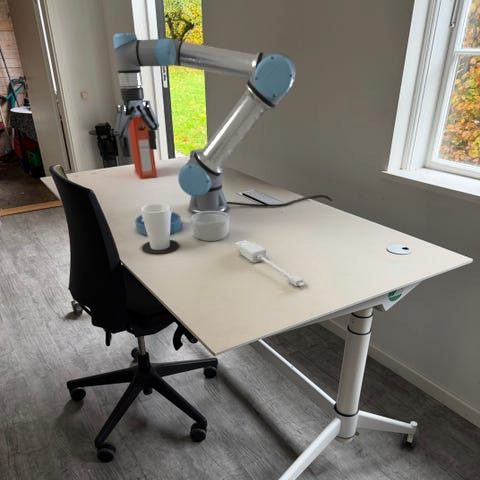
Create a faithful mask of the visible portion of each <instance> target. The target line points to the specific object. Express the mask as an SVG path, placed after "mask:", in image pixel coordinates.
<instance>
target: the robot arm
mask: <svg viewBox="0 0 480 480" xmlns="http://www.w3.org/2000/svg"><path fill="white" fill-rule="evenodd" d="M112 40H113V51H114V56H115V63H116V68H117V76H118V82H119V87H120V97H121V98H120V99H121V100H122V101H123V104H116V116H115V121H114V127H113V134H112V135H113V136H114V137H117V138H118V141H119V146H120V148H121V152H122V157H124V158H131V154H130V153H131V152H130V147H129V141H128V136H126V135H127V132H128V130H129V125H130V122H131V120H132V119H133V118H135V117H141V119H142V120H143V121H144V123H145V124H146V125H147V126H148V128H149V129H150V130H148V137H149V144H150V149H153V150H154V151H156V150H158V147H157V133H156V132H157V131H158V129H159V128H160V123H159V121H158V119H157V117H156V115H155V112H154V110H153V108H152V104H151V101H150V100H147V99H146V100H144V99H145V93H144V88H143V87H142V86H143V79H142V70H141V67H142V68H143V67H164V68H165V67H169V66H170V67H171V66H178V67H184V68H188V69H195V70H199V71H205V72H209V73H214V74H220V75H225V76H230V77H234V78H235V77H236V78H240V79H245V80H247V81H246V83H245V88H246V89H245V92H244V94H243V95H242V96H241V98H240V99H238V101H237V103H236V104H235V106H234V107H233V108H232V109H231V111H230V112H229V114H228V115H227V116H226V118H225V119H224V120H223V122H222V123H221V125H219V127H218V128H217V129H216V131H215V132H214V133H213V135H212V136H211V138H210V139H209V140H208V142H207V143H206V144H205V146H204V147H203V148H197V149H191V151H189V158H190V159H189V160H188V161H187V162H186V164H185V165H183V166H182V167H181V168H180V170H179V173H178V180H177V181H178V184H179V187H180V188H181V190H182V191H183V192H184V193H185V194H187V195H188V196H190V200H189V205H188V207H189V212H191V213H192V214H196V213H199V212H203V211H220V212H224V213H225V212H226V211H227V210H228V205H235V206H245V207H257V208H258V207H261V208H262V207H265V208H266V207H267V208H270V207H271V208H274V207H285V206H289V205H292V204H294V203H295V204H296V203H298V202H301V201H305V200H310V199H318V198H325V199H327V200H329V201H330V202H333V201H334V200H333V199H332V198H331V197H330V196H328V195H325V194H319V195H310V196H303V197H301V198H297V199H294V200H290V201H288V202H284V203H275V204H273V203H270V204H269V203H268V204H267V203H266V204H265V203H246V202H238V201H237V202H236V201H227V199H226V196H225V194H224V190H223V176H222V173H223V172H224V167H223V165H224V164H225V163H226V162H227V160H228V159H229V158H230V156H231V155H232V154H233V153H234V152H235V150H236V149H237V148H238V146H239V145H240V144H241V143H242V142H243V140H244V139H245V137H246V136H247V135H248V134H249V133H250V131H251V130H252V129H253V128H254V127H255V125H256V124H257V123H258V121H259V120H260V118H261V117H262V116H263V115H264V113H265V112H266V111H267V110H274V109H275V107H276V106H277V105H278V104H279V103H280V101H281V100H282V98H283V97H284V96H285V95H286V94H287V93H289V91H290V90H291V88H292V86H293V85H294V83H295V81H296V77H297V68H296V65H295V62H294V60H293V59H292V58H291V56H289V55H288V54H286V53H279V52H278V53H270V52H269V53H268V52H261V51H258V52H257V53H256V54H253V53H249V52H242V51H236V50H232V49H226V48H220V47H216V46H215V47H214V46H211V45H205V44H200V43H195V42H189V41H182V40H176V38H171V37H165V38H156V39H155V38H154V39H138V38H137V34H136V33H135V32H127V33H126V32H123V33H115V34H114V35H113V36H112ZM143 108H144V109H145V111H144V109H143Z"/></svg>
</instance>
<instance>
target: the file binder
mask: <svg viewBox="0 0 480 480" xmlns="http://www.w3.org/2000/svg"><path fill="white" fill-rule="evenodd" d="M143 109H144V108H143ZM144 111H145V109H144ZM128 130H129V137H130V143H131V151H132V157H133V158H132V159H133V165H134V171H135V172H136V174H137V175H138V177H139V178H140V179H141V180H145V179H153V178H157V177H158V176H157V175H158V174H157V167H156V159H155V150H154V149H150V144H149V137H148V130H150V129H149V128H148V126H147V125H146V124H145V123H144V121H143V120H142V119H141V117H135V118H133V119H132V120H131V122H130V125H129V127H128Z"/></svg>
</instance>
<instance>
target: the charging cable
mask: <svg viewBox="0 0 480 480" xmlns="http://www.w3.org/2000/svg"><path fill="white" fill-rule="evenodd" d="M234 248H235V249H236V250H237V251H240V255H242V256H243V257H244V258H246V259H247V260H249V261H250V262H252V263H258V262H265V263H266V264H267V265H269V266H270V267H272V268H273V269H274V270H276V271H278V272H279V273H281V275H284V276H285V277H287V278H288V281H289V283H291V284H292V285H293V286H295V287H304V286H306V283H305V282H304V279H303V278H301V277H299V276H298V275H291V274H290V273H288V272H287V271H285V270H284V269H282V268H280V267H279V266H278V265H276V264H275V263H274V262H272V261H271V260H268V259H267V250H266V249H265V248H263V247H262V246H260V245H259V244H257V243H255V242H254V241H252V242H250V241H249V240H247V239H244V240H241V241H237V242H234Z"/></svg>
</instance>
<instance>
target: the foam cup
mask: <svg viewBox="0 0 480 480" xmlns="http://www.w3.org/2000/svg"><path fill="white" fill-rule="evenodd" d="M140 212H141V214H140V215H142V218H143V220H144V224H145V227H146V231H147V235H146V236H147V238H148V242H149V243H150V246H151V248H152V249H155V250H162V249H166V248H168V247H169V246H170V240H171V234H170V221H171V212H172V209H171V205H169V204H167V203H162V202H161V203H160V202H158V203H150V204H146V205H143V206H141V207H140Z"/></svg>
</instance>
